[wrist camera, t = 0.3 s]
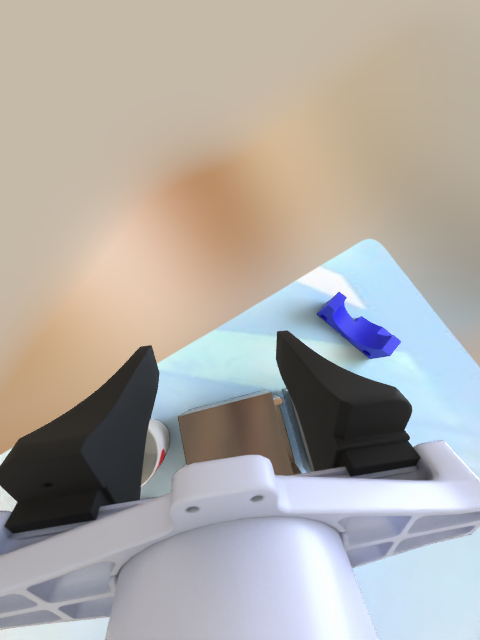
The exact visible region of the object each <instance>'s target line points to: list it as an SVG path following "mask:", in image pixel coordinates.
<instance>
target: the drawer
mask: <svg viewBox="0 0 480 640" xmlns="http://www.w3.org/2000/svg"><path fill="white" fill-rule="evenodd" d="M282 392H283V396H284V399H285V403H286V407H287V410H288V414H289V417H290V421H291V424H292V428H293V432H294V435H295V439H296V442H297V446H298V449H299V453H300V457H301V460H302V464H303V467H304V469H305V470H306V472H307V473H308V472H314V468H313V464H312V461H311V457H310V453H309V450H308V446H307V443H306V440H305V436H304V433H303V430H302V426H301V423H300V420H299V417H298V414H297V411H296V408H295V406H294V403H293V401H292V399H291V397H290V394H289V392H288V390H287V388H286V389H282ZM273 400H274V404H275V407H276V411H277V415H278V418H279V422H280V426H281V430H282V433H283V437H284V441H285V444H286V448H287V452H288V455H289V459H290V463H291V467H292V470H293V474H294V475H296V474H302V473H301V471H300V470H299V468H298V466H297V465H296V463H295V461H294V457H293V453H292V450H291V446H290V442H289V439H288V435H287V431H286V428H285V424H284V420H283V417H282V413H281V410H280V406H279V404H282V403H283V401H282V398H281V397H279V396H277V395H275V396H273Z"/></svg>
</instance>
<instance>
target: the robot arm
mask: <svg viewBox="0 0 480 640" xmlns="http://www.w3.org/2000/svg"><path fill="white" fill-rule="evenodd" d="M276 360H277V364H278V368H279V371H280V374H281V376H282V379H283V381H284V383H285V385H286V388H287V390H288V392H289V394H290V397H291V399H292V401H293V403H294V406H295V408H296V411H297V414H298V417H299V420H300V423H301V426H302V430H303V433H304V436H305V440H306V443H307V446H308V450H309V453H310V457H311V461H312V464H313V468H314V472H308V473H302V474H296V475H290V476H282V475H275V474H274V470H273V466H272V464H271V462H270V460H269V459H267V458H265V457H263V456H261V455H244V456H237V457H231V458H224V459H218V460H212V461H205V462H199V463H193V464H190V465H187V466H183V467H182V468H181V469H179V470H178V471H177V472H176V473H175V474H174V475H173V480H172V489H171V493H169V494H166V495H164V496H161V497H156V498H150V499H144V500H140V490H141V480H142V470H143V461H144V452H145V445H146V438H147V431H148V426H149V422H150V418H151V414H152V410H153V406H154V402H155V398H156V394H157V389H158V382H159V370H158V366H157V363H156V360H155V356H154V352H153V349H152V346H143V347H140V348H139V349H138V350H137V351H136V352H135V353H134V354H133V355H132V356H131V357H130V359H129V360H128V361H127V362H126V363H125V364H124V365H123V366H122V367H121V368H120V369H119V370H118V371H117V372H116V373H115V374H114V375H113V376H112V377H111V378H110V379H109V380H108V381H107V382H106V383H105V384H104V385H102V386H101V387H100V388H99V389H98V390H97V391H95V392H94V393H93V394H92V395H90V396H89V397H88V398H86V399H85V400H84V401H82V402H81V403H79V404H78V405H77V406H75V407H74V408H72V409H71V410H70V411H68V412H66V413H65V414H63V415H62V416H60V417H58V418H57V419H55V420H53V421H52V422H51V423H48V424H46V425H45V426H43V427H41V428H39V429H37V430H36V431H33V432H32V433H30V434H28V435H26V436H24V437H22V438H20V439H19V440H18V442H17V443H16V444H15V446H14V447H13V448H12V450H11V451H10V453H9V454H8V456H7V457H6V458H5V460H4V461H3V463H2V464H1V466H0V485H1V487H2V488H3V489H4V490H6V491H7V492H8V493H9V494H10V495H11V496H12V497H13V498H14V499H15V500H16V501H17V502H18V503H17V504H16V506H15V508H14V510H13V512H10V511H0V630H2V629H9V628H15V627H23V626H32V625H40V624H49V623H59V622H68V621H77V620H87V619H96V618H105V617H110V619H109V624H108V629H107V634H106V638H105V640H379V638H378V635H377V632H376V630H375V627H374V625H373V622H372V619H371V617H370V614H369V611H368V609H367V606H366V603H365V601H364V598H363V596H362V593H361V590H360V588H359V585H358V582H357V580H356V577H355V574H354V572H353V569H352V568H355V567H358V566H361V565H364V564H367V563H371V562H374V561H377V560H380V559H383V558H387V557H390V556H393V555H396V554H399V553H403V552H406V551H409V550H412V549H416V548H419V547H423V546H426V545H430V544H433V543H437V542H441V541H445V540H449V539H454V538H458V537H463V536H467V535H471V534H472V533H473V532H474V531H475V530H476V529H477V528H478V527H479V526H480V480H479V478H478V477H477V476H476V475H475V474H474V473H473V472H472V471H471V470H470V468H469V467H468V466H467V465H466V464H465V463H464V462H463V461H462V460H461V459H460V457H459V456H458V455H457V454H456V453H455V452H454V451H453V450H452V449H451V448H450V446H449V445H448V444H447V443H446V442H445V441H443V440H439V441H433V442H427V443H421V444H418V445H416V446H414V447H412V446H411V444H410V443H409V442H408V440H409V439H410V437H409V435H408V434H407V433H406V431H405V430H404V429H405V427H406V425H407V423H408V421H409V419H410V416H411V413H412V405H411V404H410V403H409V401H408V400H407V399H406V398H405V397H404V396H403V395H402V394H401V392H400V391H399V390H398V389H397V388H396V387H393V386H390V385H386V384H383V383H379V382H376V381H373V380H370V379H367V378H365V377H362V376H359V375H357V374H354V373H352V372H350V371H348V370H346V369H343V368H341V367H339V366H337V365H336V364H334V363H332V362H330V361H328V360H327V359H325V358H323V357H322V356H320V355H319V354H317V353H316V352H314V351H313V350H312V349H310V348H309V347H308V346H306V345H305V344H304V343H302V342H301V341H300V340H299V339H297V338H296V337H295V336H294V335H292V334H291V333H290V332H289V331H278V332H277V347H276Z"/></svg>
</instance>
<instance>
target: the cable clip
mask: <svg viewBox="0 0 480 640" xmlns="http://www.w3.org/2000/svg"><path fill="white" fill-rule="evenodd" d="M345 299H346V297H345V296H344V295H343V294H341V293H340V292H338V293H337V294H336V295H335V296H334V297H333V298H332V299H331V300H329V301H328V302H327V303H326V304H325V305H324V307H323V308H322V309H321V310H320V311H319V312H318V313H317V315H318V316H319V317H321V318H322V319H323V320H324V321H325V322H327V323H328V324H329V325H330V326H331V327H333V328H334V329H335V330H336V331H337V332H339V333H340V334H341V335H342V336H343V337H344V338H346V339H347V340H348V341H349V342H350V343H352V344H353V345H354V346H355V347H356V348H358V349H359V350H360V351H361V352H362V353H364V354H365V355H366V356H367V357H368V358H370V359H373V358H379V357H386V356H390V355H391V354H392V353H393V351H394V350H395V349H396V348H397V346H398V345H399V344H400V342H401V341H400V340H399V339H398V338H396V337H395V336H394V335H391V334H390V333H389V332H388V331H386V330H385V329H384V328H383V327H380V326H378V325H375V324H373V323H371V322H369V321H368V320H366V319H365V318H363V317H362V316H361V317H359V318H358V319H357V320H356V321H354V320H353V319H352V318H351V317H350V315H349V314H348V313H347V311H346V309H345V307H344V301H345Z"/></svg>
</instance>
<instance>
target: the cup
mask: <svg viewBox="0 0 480 640" xmlns="http://www.w3.org/2000/svg"><path fill="white" fill-rule="evenodd" d="M169 444H170V436H169V431H168V429H167V427H166V426H165V425H164V424H163V423H161V422H160V421H158V420H155V419H150V422H149V426H148V431H147V438H146V445H145V452H144V461H143V470H142V480H141V487H142V486H143V485H145V484H146V483H147V482H148V481H149V480H150V478H151V477H152V476H153V474H154V473H155V472H156V470H157V469H158V468H159V466H160V465H161V463H162V462H163V460H164V458H165V455H166V453H167V451H168V448H169Z"/></svg>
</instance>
